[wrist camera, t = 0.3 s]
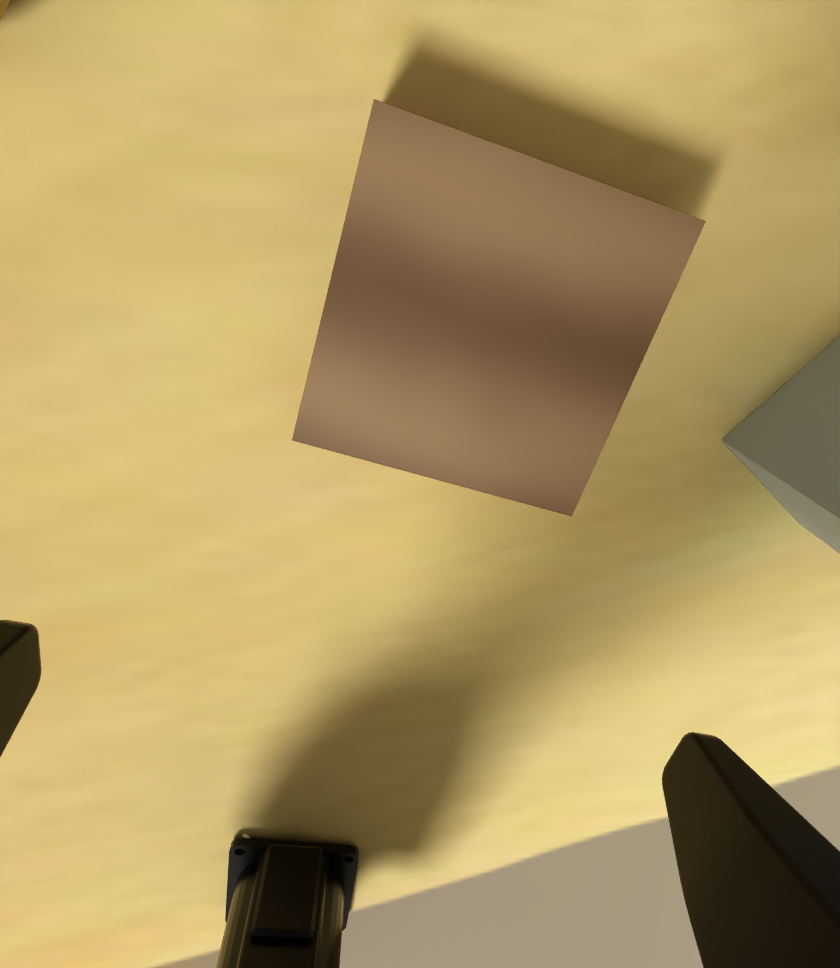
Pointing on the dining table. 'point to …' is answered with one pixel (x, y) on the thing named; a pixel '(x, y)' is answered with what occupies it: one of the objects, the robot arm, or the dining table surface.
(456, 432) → the walnut block
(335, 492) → the dining table surface
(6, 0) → the hamburger
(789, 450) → the slate block
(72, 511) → the dining table surface
